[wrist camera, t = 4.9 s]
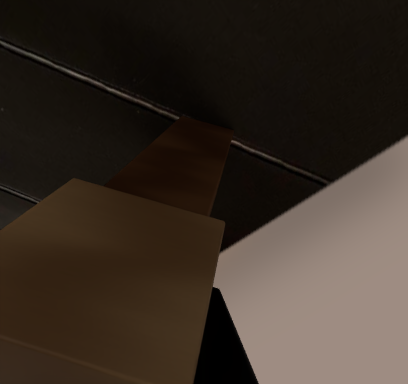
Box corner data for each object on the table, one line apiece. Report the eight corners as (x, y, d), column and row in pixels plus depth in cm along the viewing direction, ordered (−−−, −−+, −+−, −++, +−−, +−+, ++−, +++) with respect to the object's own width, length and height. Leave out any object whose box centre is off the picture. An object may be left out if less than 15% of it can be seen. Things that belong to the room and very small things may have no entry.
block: (225, 221, 8) (191, 399, 4) (193, 321, 10) (150, 501, 6) (73, 176, 8) (-108, 304, 4) (74, 285, 10) (-42, 436, 6)
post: (234, 129, 17) (205, 225, 8) (220, 178, 19) (183, 303, 10) (181, 115, 17) (93, 193, 8) (172, 164, 19) (91, 275, 10)
